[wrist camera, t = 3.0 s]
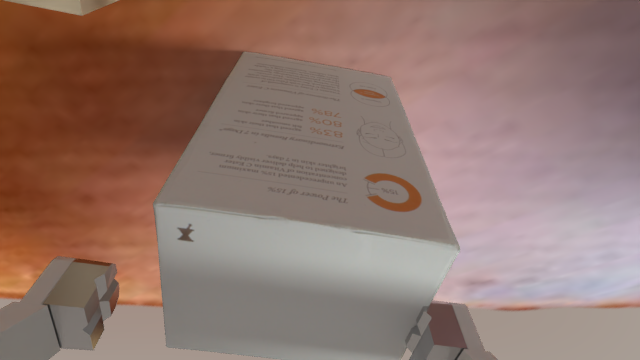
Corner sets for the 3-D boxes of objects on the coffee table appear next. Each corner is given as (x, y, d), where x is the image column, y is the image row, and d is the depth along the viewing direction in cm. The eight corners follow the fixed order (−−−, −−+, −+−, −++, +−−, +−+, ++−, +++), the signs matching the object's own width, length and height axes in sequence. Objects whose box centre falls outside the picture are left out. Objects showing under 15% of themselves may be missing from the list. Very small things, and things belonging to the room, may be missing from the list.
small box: (235, 152, 24) (158, 351, 13) (242, 47, 20) (144, 199, 9) (366, 173, 24) (397, 378, 14) (395, 75, 21) (467, 246, 10)
